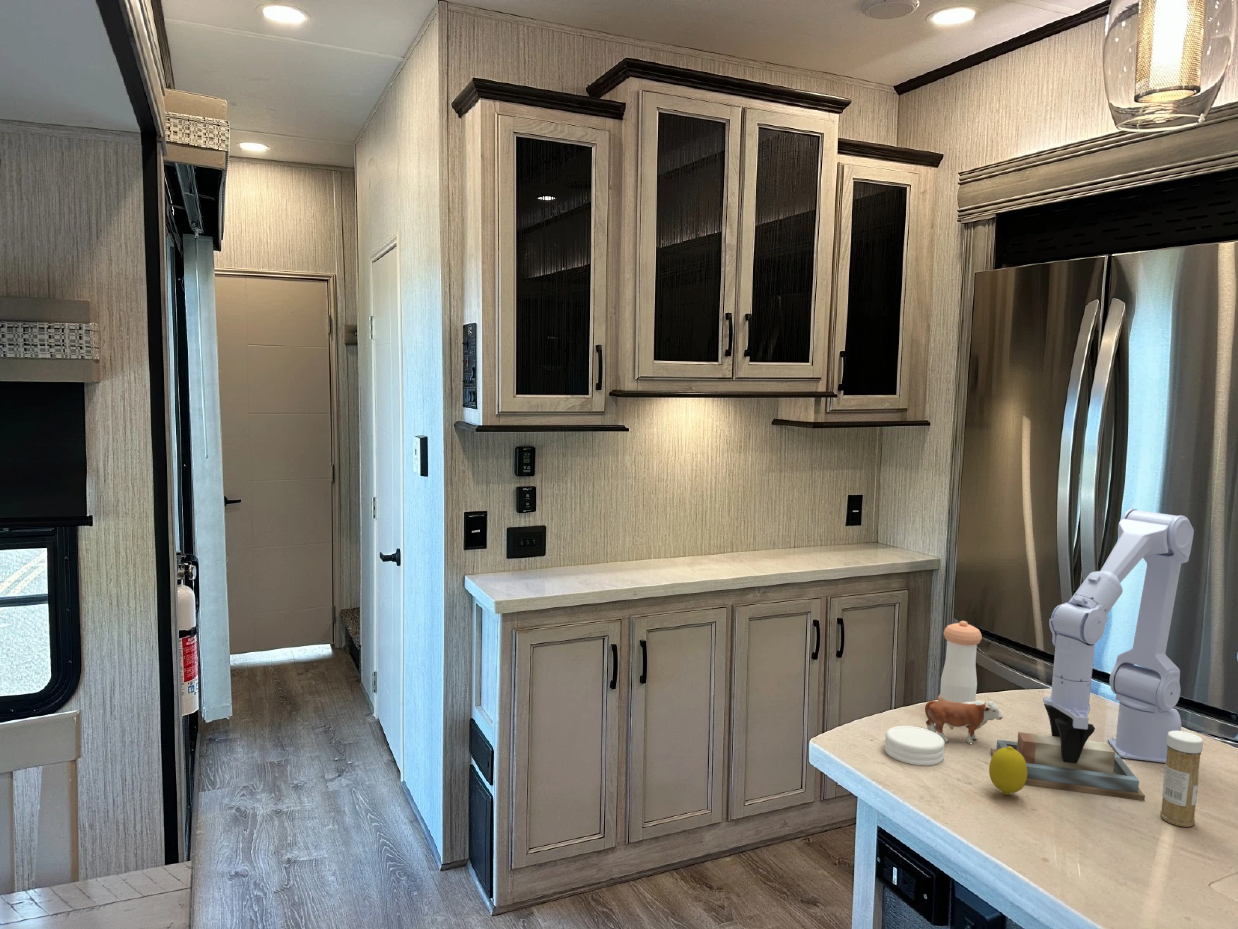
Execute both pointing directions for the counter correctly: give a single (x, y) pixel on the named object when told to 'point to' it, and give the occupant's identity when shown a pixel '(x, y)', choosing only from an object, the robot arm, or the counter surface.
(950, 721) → the bull figurine
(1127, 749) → the robot arm
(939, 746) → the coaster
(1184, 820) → the spice jar
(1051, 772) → the tray
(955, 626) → the pepper shaker
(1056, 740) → the two-tone wooden block
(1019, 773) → the lemon
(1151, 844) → the counter surface
